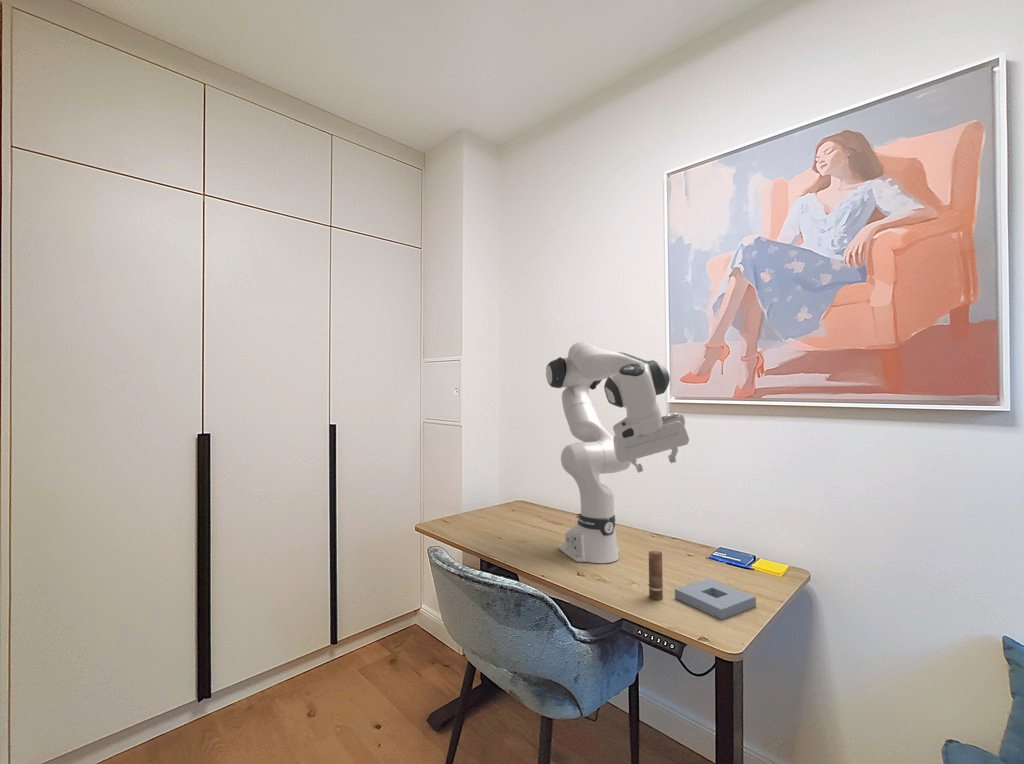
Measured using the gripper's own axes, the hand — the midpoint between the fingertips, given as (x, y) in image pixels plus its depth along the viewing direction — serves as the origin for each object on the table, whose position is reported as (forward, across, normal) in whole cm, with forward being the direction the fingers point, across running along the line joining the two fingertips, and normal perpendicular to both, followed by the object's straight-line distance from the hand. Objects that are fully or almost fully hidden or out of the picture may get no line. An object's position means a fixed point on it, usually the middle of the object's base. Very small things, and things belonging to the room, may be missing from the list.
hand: (656, 466), depth 130 cm
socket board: (+34, -3, +16) cm, 38 cm away
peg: (+30, +11, +13) cm, 35 cm away
